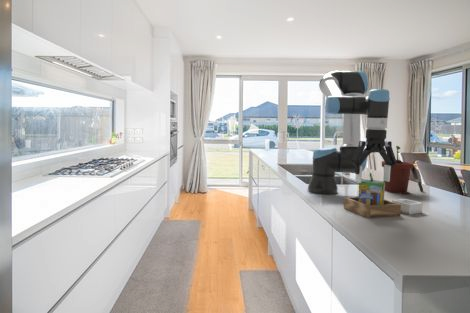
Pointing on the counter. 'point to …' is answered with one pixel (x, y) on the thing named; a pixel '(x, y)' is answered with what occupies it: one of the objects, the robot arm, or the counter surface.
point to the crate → (372, 208)
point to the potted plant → (401, 176)
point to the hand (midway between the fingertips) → (372, 181)
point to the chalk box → (371, 192)
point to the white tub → (409, 206)
